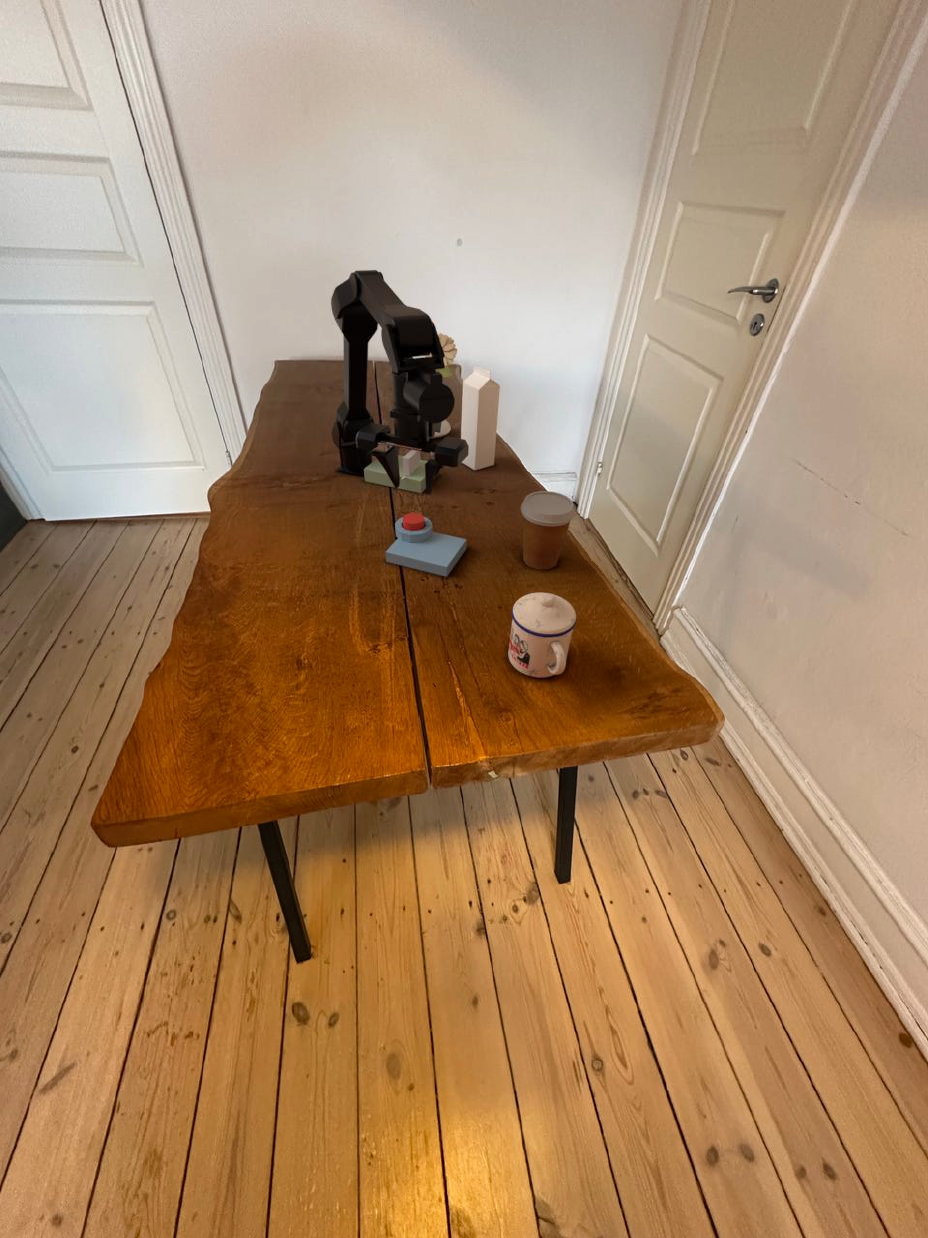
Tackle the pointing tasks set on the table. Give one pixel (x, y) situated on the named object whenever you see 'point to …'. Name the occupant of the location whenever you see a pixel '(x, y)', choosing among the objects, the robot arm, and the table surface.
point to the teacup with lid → (541, 634)
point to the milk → (480, 418)
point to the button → (413, 522)
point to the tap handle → (411, 462)
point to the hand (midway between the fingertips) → (413, 490)
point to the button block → (425, 549)
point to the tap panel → (410, 483)
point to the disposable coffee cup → (545, 527)
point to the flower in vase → (446, 373)
